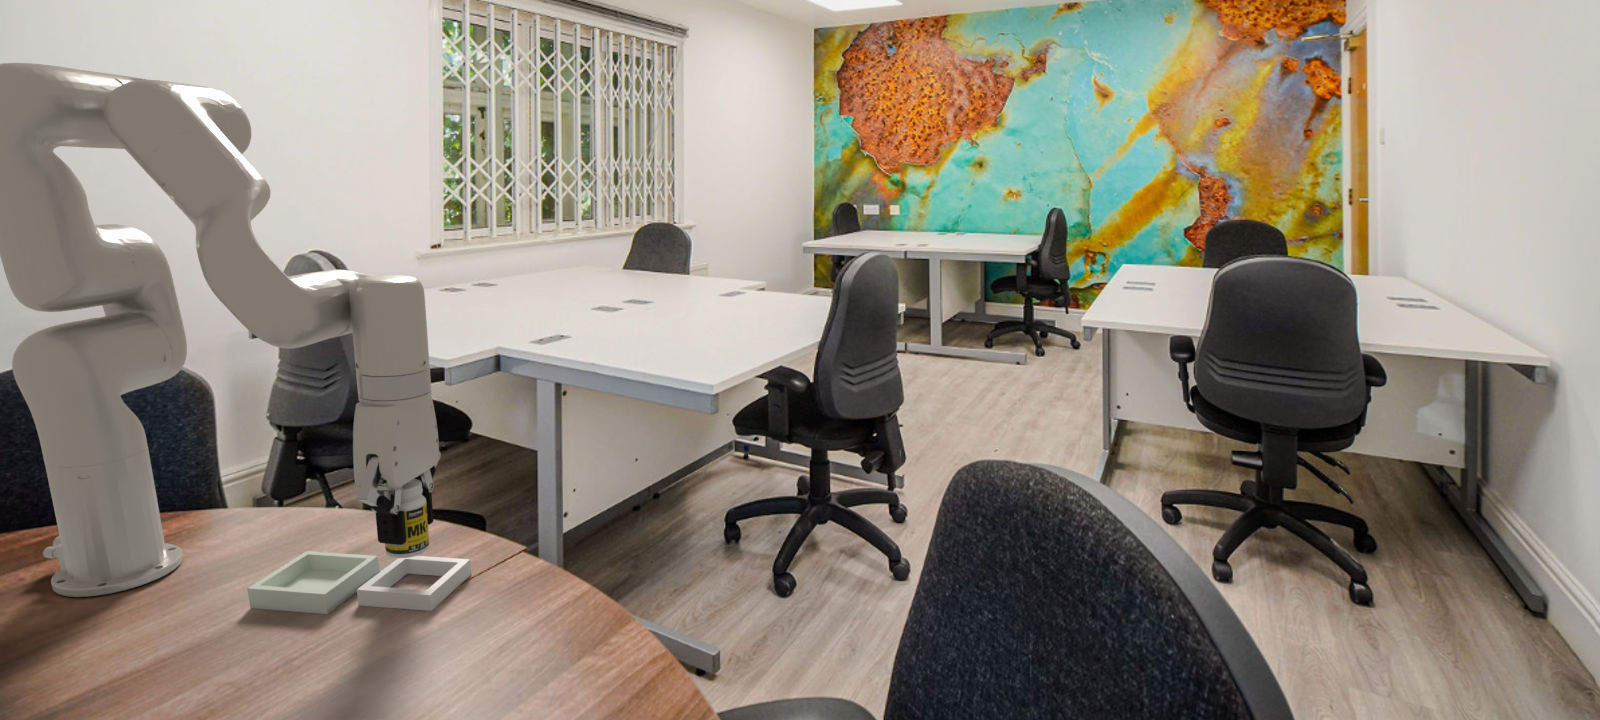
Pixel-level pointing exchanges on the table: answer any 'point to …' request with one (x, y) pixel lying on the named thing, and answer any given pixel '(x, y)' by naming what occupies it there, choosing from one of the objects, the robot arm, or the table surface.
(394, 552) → the supplement bottle
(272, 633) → the table surface
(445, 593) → the collar holder
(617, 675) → the table surface
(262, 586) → the tray
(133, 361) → the robot arm
